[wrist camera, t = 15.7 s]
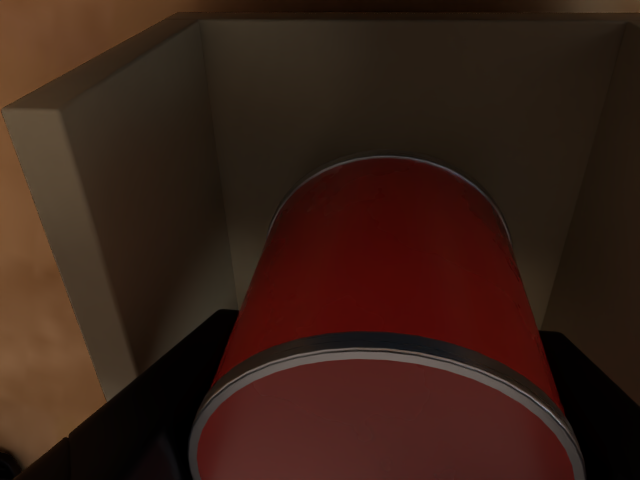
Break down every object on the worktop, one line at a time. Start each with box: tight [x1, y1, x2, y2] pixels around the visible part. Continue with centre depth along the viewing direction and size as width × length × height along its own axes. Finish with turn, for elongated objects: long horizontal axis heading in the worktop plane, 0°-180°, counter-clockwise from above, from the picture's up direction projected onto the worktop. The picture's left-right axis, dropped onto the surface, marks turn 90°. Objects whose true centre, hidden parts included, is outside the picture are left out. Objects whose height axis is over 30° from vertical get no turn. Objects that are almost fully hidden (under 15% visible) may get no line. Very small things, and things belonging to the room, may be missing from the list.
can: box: [187, 150, 587, 480], centre depth 9 cm, size 5×5×5 cm
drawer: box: [2, 12, 640, 406], centre depth 10 cm, size 21×11×7 cm, turn 1°
